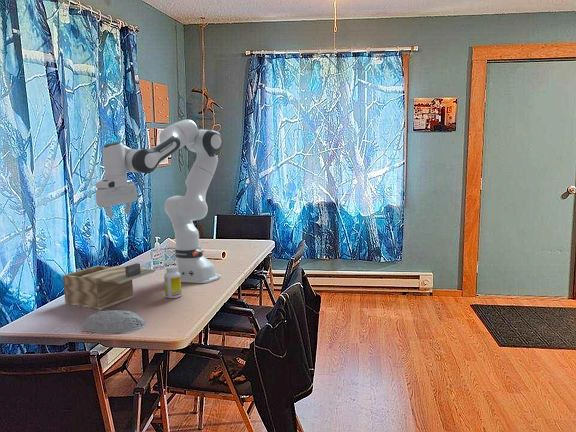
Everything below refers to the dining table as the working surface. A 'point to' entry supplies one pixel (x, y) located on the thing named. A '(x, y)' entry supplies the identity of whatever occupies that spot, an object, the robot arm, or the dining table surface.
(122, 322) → the grey oval stone
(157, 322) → the dining table surface
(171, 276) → the supplement bottle
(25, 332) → the dining table surface
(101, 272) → the lid
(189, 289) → the dining table surface
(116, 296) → the wooden box
